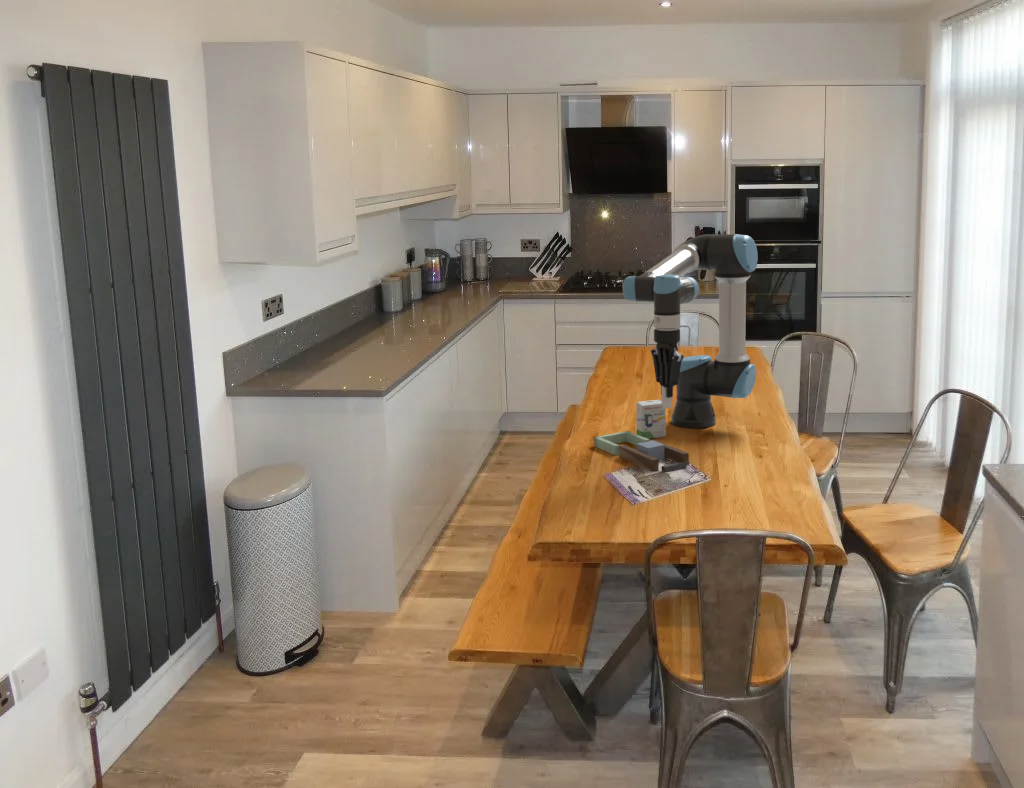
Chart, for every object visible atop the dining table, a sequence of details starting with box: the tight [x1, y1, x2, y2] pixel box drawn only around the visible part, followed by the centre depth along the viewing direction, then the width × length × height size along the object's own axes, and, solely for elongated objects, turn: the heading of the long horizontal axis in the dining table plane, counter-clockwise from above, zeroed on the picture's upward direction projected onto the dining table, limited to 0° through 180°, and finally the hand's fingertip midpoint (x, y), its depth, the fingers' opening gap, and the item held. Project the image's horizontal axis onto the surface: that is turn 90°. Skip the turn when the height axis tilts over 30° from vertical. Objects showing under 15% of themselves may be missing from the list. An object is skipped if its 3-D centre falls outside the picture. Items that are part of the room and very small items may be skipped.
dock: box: [593, 430, 651, 456], centre depth 322 cm, size 13×12×3 cm
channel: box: [618, 439, 690, 473], centre depth 307 cm, size 13×18×4 cm
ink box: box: [636, 399, 667, 440], centre depth 333 cm, size 9×5×12 cm, turn 105°
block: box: [636, 439, 665, 462], centre depth 308 cm, size 6×6×5 cm
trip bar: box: [661, 462, 688, 473], centre depth 298 cm, size 8×2×2 cm, turn 117°
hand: (666, 407), depth 297 cm, fingers closed
